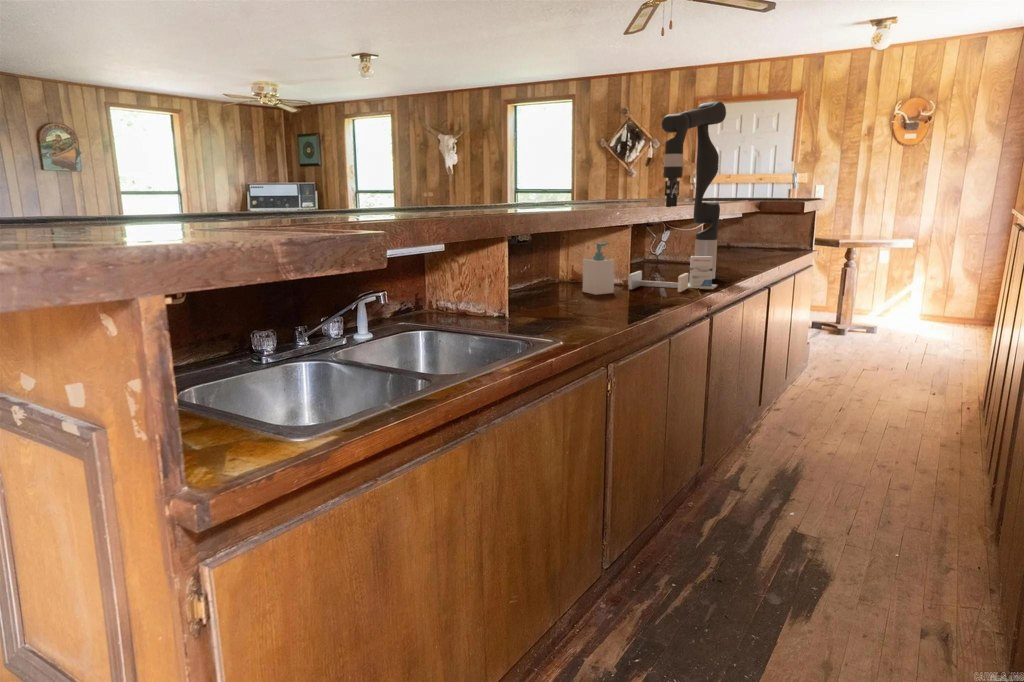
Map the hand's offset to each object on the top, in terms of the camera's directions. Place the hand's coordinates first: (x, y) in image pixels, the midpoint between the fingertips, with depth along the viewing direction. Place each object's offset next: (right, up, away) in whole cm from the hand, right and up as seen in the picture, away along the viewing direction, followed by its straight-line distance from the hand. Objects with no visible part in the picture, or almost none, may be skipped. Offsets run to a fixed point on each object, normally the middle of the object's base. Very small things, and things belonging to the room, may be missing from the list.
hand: (671, 206), depth 279 cm
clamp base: (-7, -34, -5) cm, 35 cm away
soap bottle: (-32, -36, -14) cm, 50 cm away
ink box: (+12, -32, 0) cm, 34 cm away
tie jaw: (+2, -35, -10) cm, 37 cm away
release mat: (+12, -33, 0) cm, 35 cm away
